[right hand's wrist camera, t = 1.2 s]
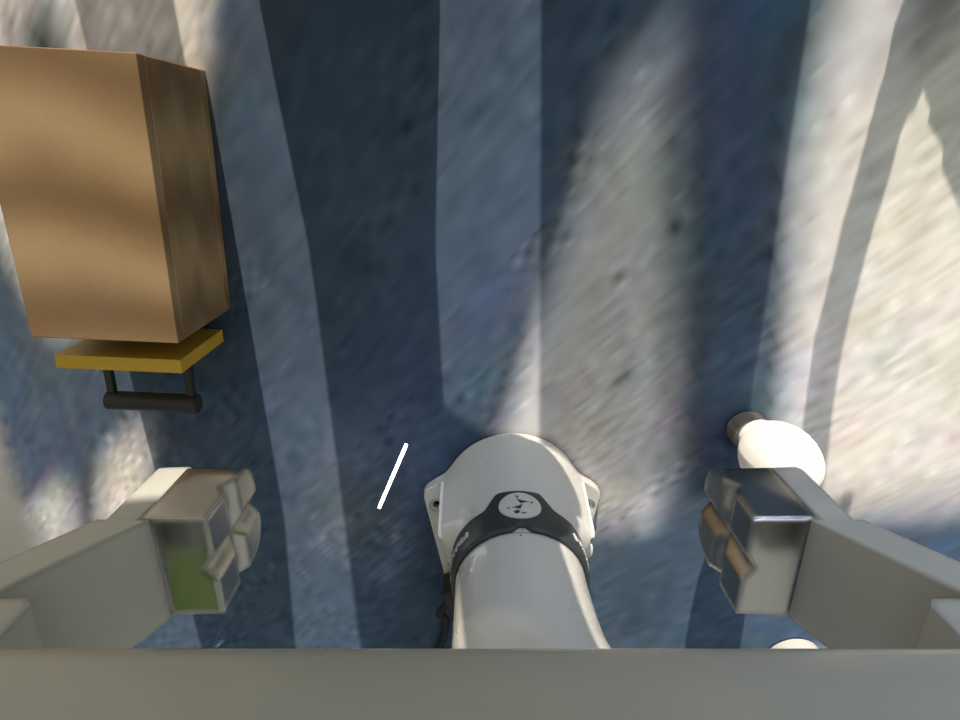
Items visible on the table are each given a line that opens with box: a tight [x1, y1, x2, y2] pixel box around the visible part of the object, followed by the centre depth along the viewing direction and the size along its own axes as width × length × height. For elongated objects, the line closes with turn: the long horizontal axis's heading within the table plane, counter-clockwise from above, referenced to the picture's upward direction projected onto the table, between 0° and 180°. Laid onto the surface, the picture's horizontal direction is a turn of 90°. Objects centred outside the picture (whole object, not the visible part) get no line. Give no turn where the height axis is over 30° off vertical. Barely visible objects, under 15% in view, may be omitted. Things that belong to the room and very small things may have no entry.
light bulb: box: [727, 412, 825, 486], centre depth 54 cm, size 7×7×11 cm
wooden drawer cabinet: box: [0, 45, 231, 343], centre depth 46 cm, size 20×11×10 cm, turn 177°
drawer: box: [54, 329, 223, 413], centre depth 48 cm, size 24×10×8 cm, turn 177°
